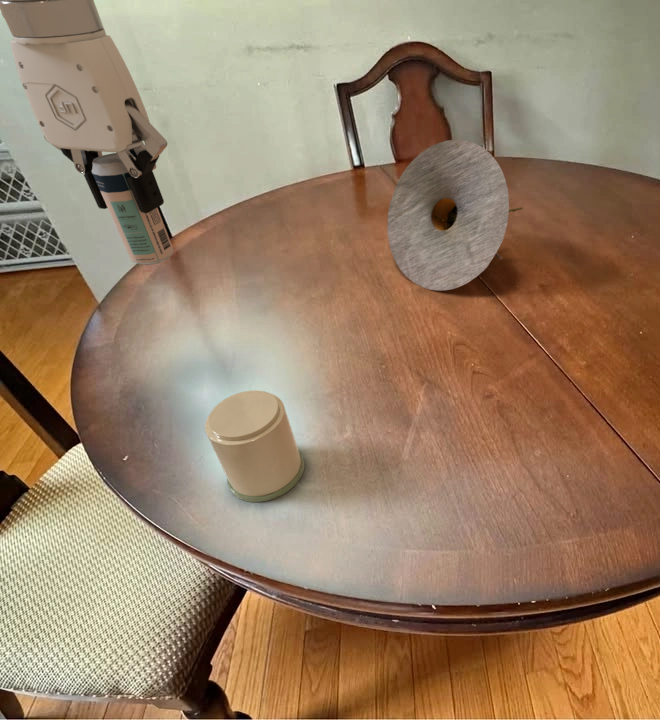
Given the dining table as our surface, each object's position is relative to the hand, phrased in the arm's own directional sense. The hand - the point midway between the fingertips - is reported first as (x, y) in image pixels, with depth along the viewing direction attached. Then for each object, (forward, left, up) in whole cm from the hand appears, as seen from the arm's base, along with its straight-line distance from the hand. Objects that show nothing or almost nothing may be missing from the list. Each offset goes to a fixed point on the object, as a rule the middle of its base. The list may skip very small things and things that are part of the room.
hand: (131, 204), depth 63 cm
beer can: (0, 0, -7) cm, 7 cm away
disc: (+44, +13, -25) cm, 52 cm away
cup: (+6, -23, -25) cm, 34 cm away
